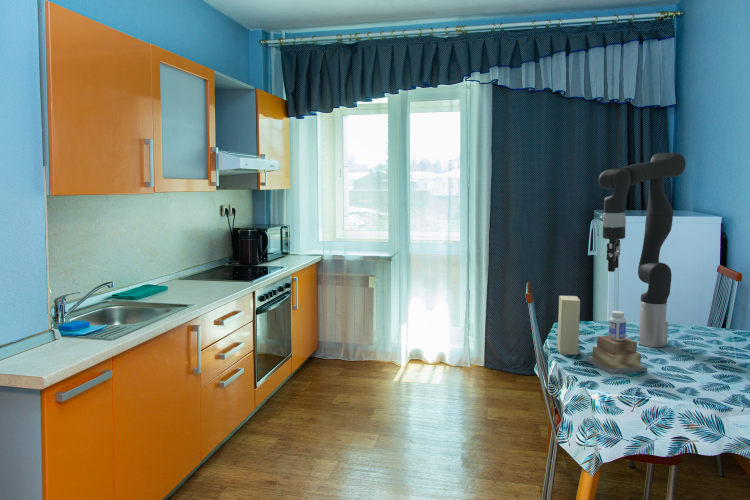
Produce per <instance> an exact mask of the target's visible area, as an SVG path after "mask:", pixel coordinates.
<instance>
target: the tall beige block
mask: <svg viewBox="0 0 750 500" xmlns="http://www.w3.org/2000/svg"><path fill="white" fill-rule="evenodd" d="M580 314H581V300H580V298H579V297H578V295H577V296H576V295H558V318H557V319H558V320H557V340H556V341H557V346H556V348H557V351H558V353H559V354H560V355H572V356H575V355H576V356H578V354H579V339H580V338H579V336H580V318H581V317H580V316H581V315H580Z"/></svg>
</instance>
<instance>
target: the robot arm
mask: <svg viewBox="0 0 750 500" xmlns="http://www.w3.org/2000/svg"><path fill="white" fill-rule="evenodd" d="M685 169H686V158H685V157H684V156H683V155H682V154H681V153H677V152H661V153H660V152H659V153H655V154H653V155H652V157H651V159H650V161H649V162H640V163H639V162H638V163H634V164H631V165H626V166H624V167H617V168H616V167H615V168H610V169H609V168H608V169H606V170H604V171H602V172H601V173H600V175H599V176H598V184H599V185H600V187H601V188H603V189H604V190H614V192H613V194H612V195H608V196H606V197H604V199H603V216H602V239H604V240H608V243H606V261H607V271H608V272H609V273H610V272H611V273H612V272H613V273H614V272H615V271H616V269H618V268H619V258H620V255H621V253H620V252H621V240H623V239H625V238H626V220H627V219H626V200H627V197H628V193H629V190H630V188H631V187H630V186H632V185H636V184H639V183H644V182H647V181H648V196H647V197H648V198H647V207H646V208H647V209H646V215H645V224H644V235H643V243H642V249H641V254H640V259H639V261H638V262H639V263H638V268H637V275H638V278H639V280H640V281H641V282H642V283H645V284H648V287H647V291H646V292H643V293H641V295H640V305H639V306H640V307H639V325H638V326H639V328H638V331H639V332H638V344H639V345H641V346H644V347H647V348H648V347H649V348H663V347H665V346H668V334H669V333H668V329H669V321H667V306H668V299H669V297H670V295H671V294H670V292H671V286H672V278H673V277H672V275H673V274H672V270H671V267H670V266H669V265H668V264H667V263H663V262H660V261H659V260H660V253H661V252H660V251H661V249H662V246H663V245H664V243H665V240H667V238H668V236H670V235H669V234H670V232H671V230H672V227H673V218H674V209H673V207H672V204H671V202H670V201H669V199H668V197H667V195H666V193H665V190H664V189H665V188H664V178H676V177H679V176H681V175H682V174H683V173H684V171H685Z"/></svg>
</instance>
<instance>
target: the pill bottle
mask: <svg viewBox="0 0 750 500" xmlns="http://www.w3.org/2000/svg"><path fill="white" fill-rule="evenodd" d="M610 316H611V317H609V320H608V336H609V339H611V340H615V341H623V340H625V337H626V334H627V332H626V331H627V329H626V328H627V320H626V317H625V312H624V311H621V310H612V311H611V315H610ZM626 338H627V337H626Z"/></svg>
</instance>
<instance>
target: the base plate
mask: <svg viewBox="0 0 750 500" xmlns="http://www.w3.org/2000/svg"><path fill="white" fill-rule="evenodd" d="M585 361H586V362H587V363H589V364H590V365H592V366H594V367H596V368H598V369H600V370H601V371H604V372H605V373H608V374H609V375H619V374H628V373H639V372H648V367H647V366H644V365H643V364H641V363H640V367H629V368H619V369H611V368H609V367H607V366H605V365H603V364H601V363H599V362H597V361H595V360H593V359H592V357H586V358H585Z"/></svg>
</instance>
